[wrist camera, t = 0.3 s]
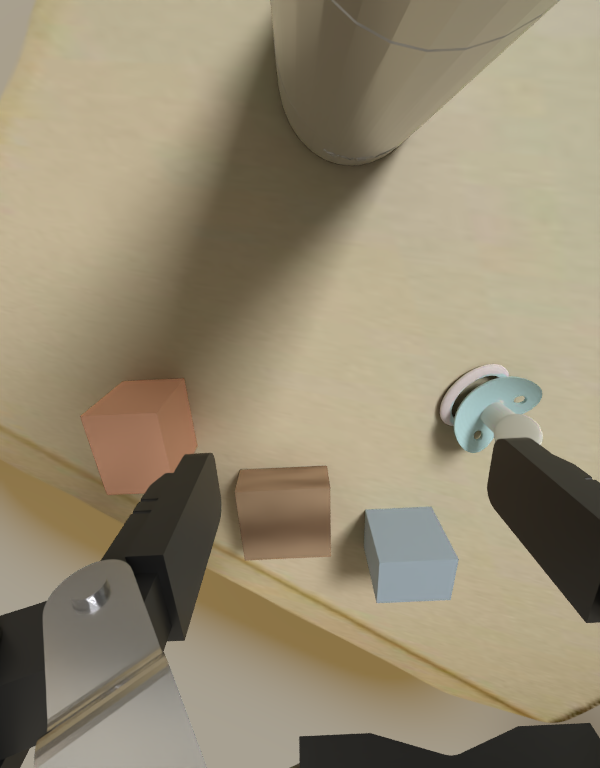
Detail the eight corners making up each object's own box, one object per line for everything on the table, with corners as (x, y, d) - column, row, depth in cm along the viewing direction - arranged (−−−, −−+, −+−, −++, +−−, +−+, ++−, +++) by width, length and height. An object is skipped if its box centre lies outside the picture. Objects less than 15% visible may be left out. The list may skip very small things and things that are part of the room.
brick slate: (363, 546, 35) (376, 603, 30) (365, 509, 33) (379, 562, 28) (425, 543, 35) (450, 599, 30) (431, 506, 33) (458, 559, 28)
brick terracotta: (123, 380, 27) (80, 416, 22) (184, 377, 27) (156, 412, 22) (141, 447, 30) (107, 494, 24) (197, 445, 30) (175, 491, 24)
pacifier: (421, 408, 29) (466, 446, 30) (450, 448, 23) (505, 493, 25) (488, 345, 27) (534, 389, 28) (540, 371, 21) (594, 425, 22)
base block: (239, 469, 31) (234, 492, 28) (326, 465, 31) (330, 487, 28) (248, 534, 34) (244, 560, 31) (327, 530, 34) (330, 556, 31)
